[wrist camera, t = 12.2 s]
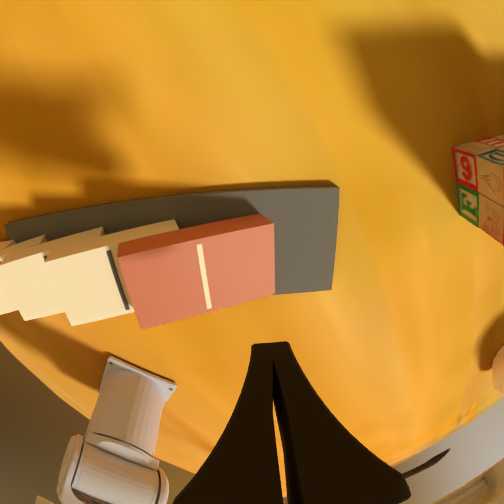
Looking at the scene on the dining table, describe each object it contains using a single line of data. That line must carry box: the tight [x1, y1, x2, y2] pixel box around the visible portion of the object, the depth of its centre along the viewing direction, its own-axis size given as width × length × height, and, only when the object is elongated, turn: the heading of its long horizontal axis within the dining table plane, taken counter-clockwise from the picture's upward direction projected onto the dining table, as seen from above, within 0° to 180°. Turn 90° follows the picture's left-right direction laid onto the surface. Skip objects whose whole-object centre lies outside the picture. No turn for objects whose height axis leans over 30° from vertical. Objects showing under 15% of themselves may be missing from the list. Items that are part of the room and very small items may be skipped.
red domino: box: [117, 213, 275, 330], centre depth 17 cm, size 2×5×9 cm
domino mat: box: [5, 186, 339, 295], centre depth 19 cm, size 28×8×1 cm, turn 93°
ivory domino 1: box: [0, 234, 48, 315], centre depth 16 cm, size 2×5×9 cm
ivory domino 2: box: [0, 227, 105, 321], centre depth 17 cm, size 2×5×9 cm
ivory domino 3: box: [44, 219, 179, 326], centre depth 17 cm, size 2×5×9 cm
